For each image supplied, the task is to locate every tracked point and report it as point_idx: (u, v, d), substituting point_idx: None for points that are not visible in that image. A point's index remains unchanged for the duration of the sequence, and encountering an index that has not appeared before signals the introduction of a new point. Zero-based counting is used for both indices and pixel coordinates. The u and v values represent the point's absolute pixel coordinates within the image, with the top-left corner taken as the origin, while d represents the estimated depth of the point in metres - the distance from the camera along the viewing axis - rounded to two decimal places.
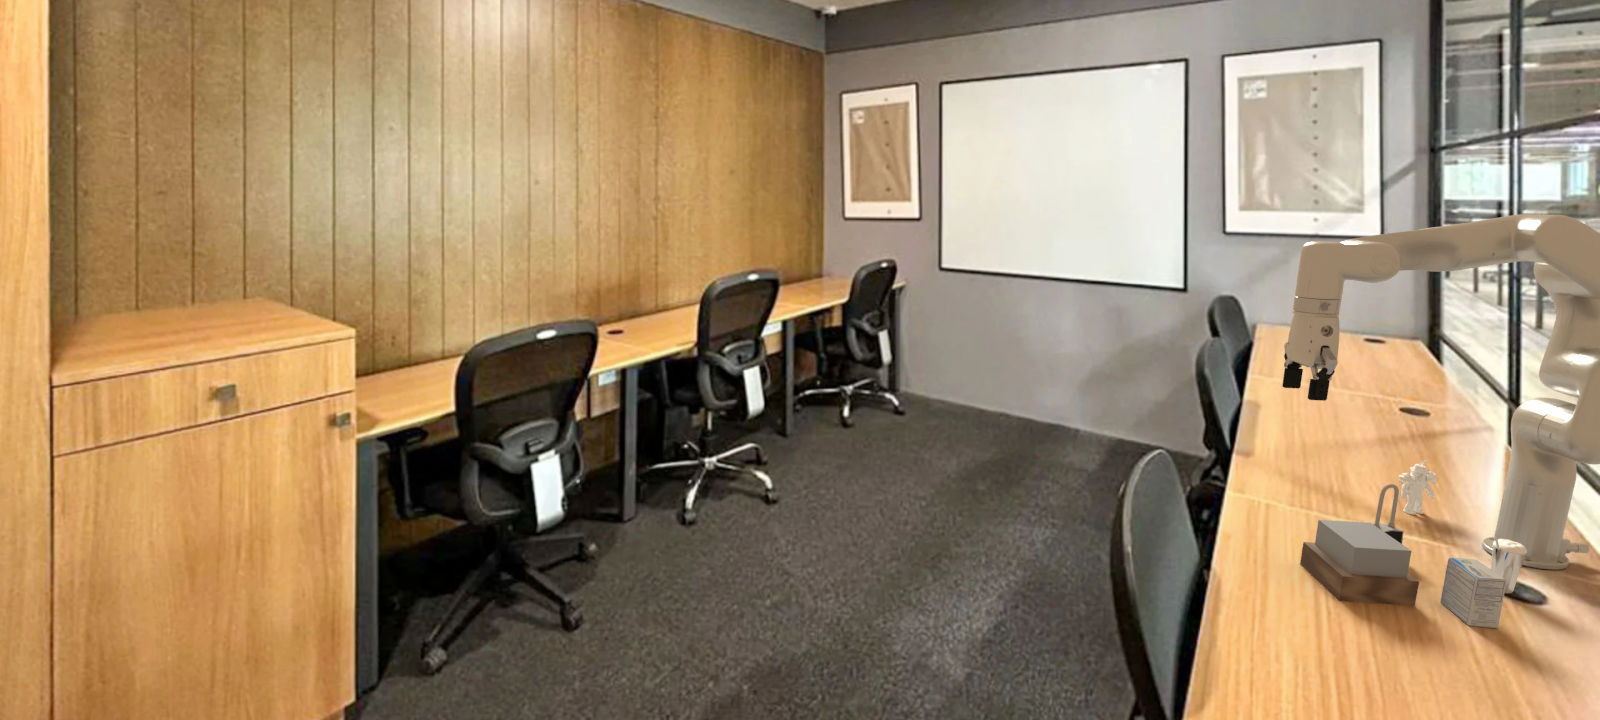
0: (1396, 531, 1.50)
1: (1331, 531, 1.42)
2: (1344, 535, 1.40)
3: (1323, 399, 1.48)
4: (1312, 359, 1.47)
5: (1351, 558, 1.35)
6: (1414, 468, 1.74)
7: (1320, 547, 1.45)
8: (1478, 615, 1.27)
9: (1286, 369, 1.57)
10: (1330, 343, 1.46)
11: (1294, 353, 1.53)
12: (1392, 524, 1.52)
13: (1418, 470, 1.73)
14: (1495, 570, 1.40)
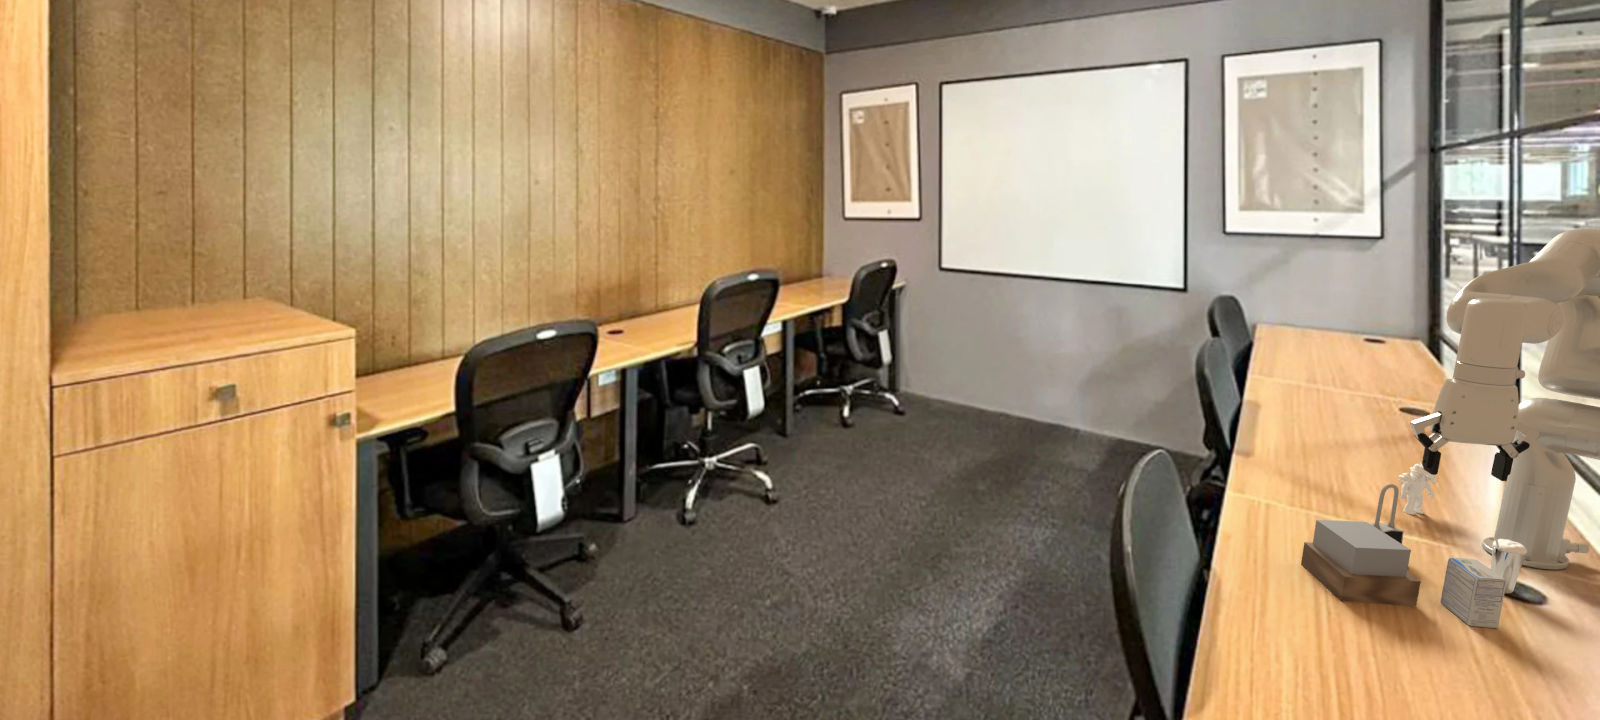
0: (1396, 531, 1.50)
1: (1330, 531, 1.42)
2: (1343, 535, 1.40)
3: None
4: (1514, 436, 1.26)
5: (1352, 558, 1.35)
6: (1414, 468, 1.74)
7: (1318, 547, 1.45)
8: (1478, 615, 1.27)
9: (1439, 453, 1.29)
10: None
11: (1473, 433, 1.27)
12: (1392, 524, 1.52)
13: (1418, 470, 1.73)
14: (1495, 570, 1.40)
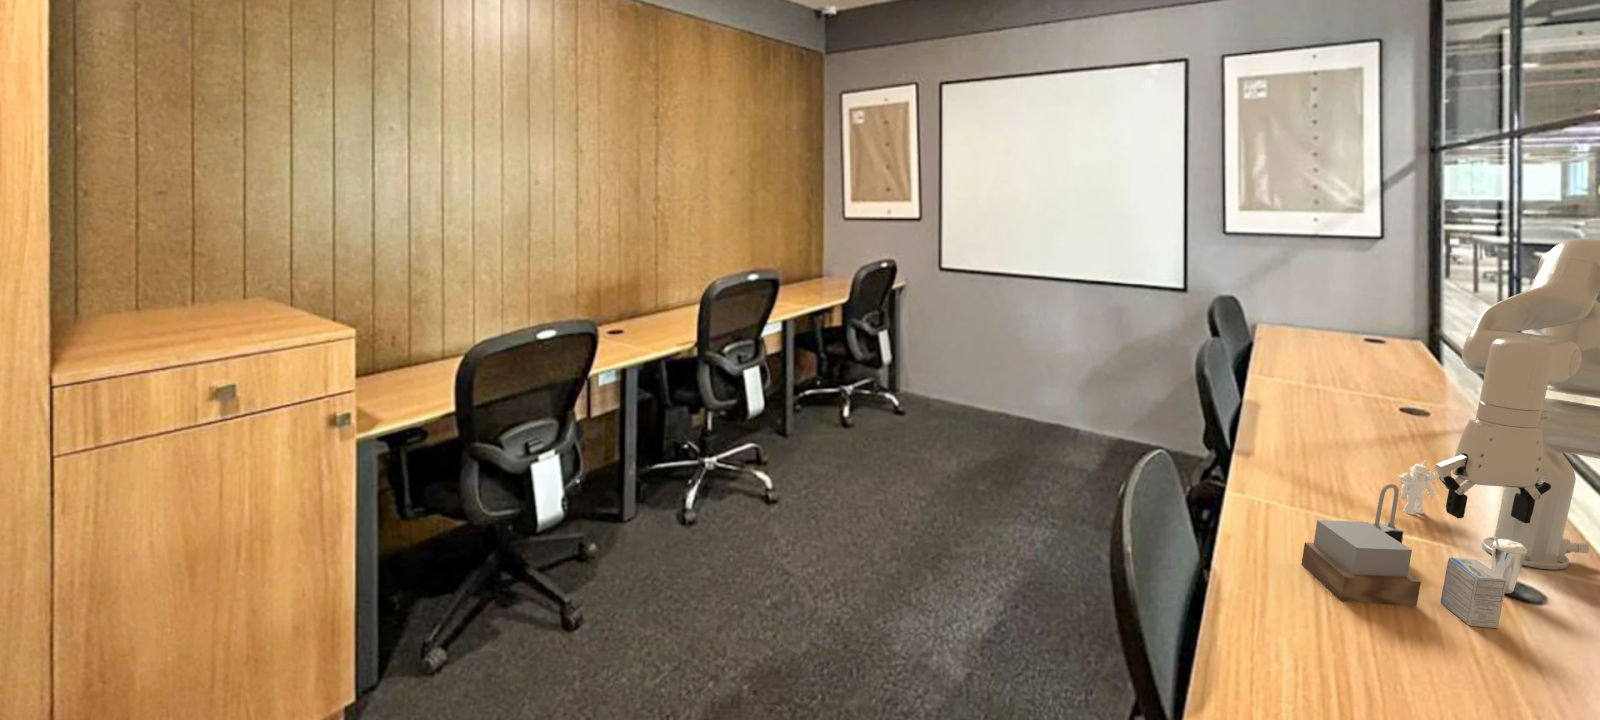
0: (1396, 531, 1.50)
1: (1331, 531, 1.42)
2: (1344, 535, 1.40)
3: None
4: (1538, 478, 1.24)
5: (1353, 558, 1.35)
6: (1414, 468, 1.74)
7: (1319, 547, 1.45)
8: (1478, 615, 1.27)
9: (1466, 496, 1.26)
10: None
11: (1499, 476, 1.24)
12: (1392, 524, 1.52)
13: (1418, 470, 1.73)
14: (1495, 570, 1.40)
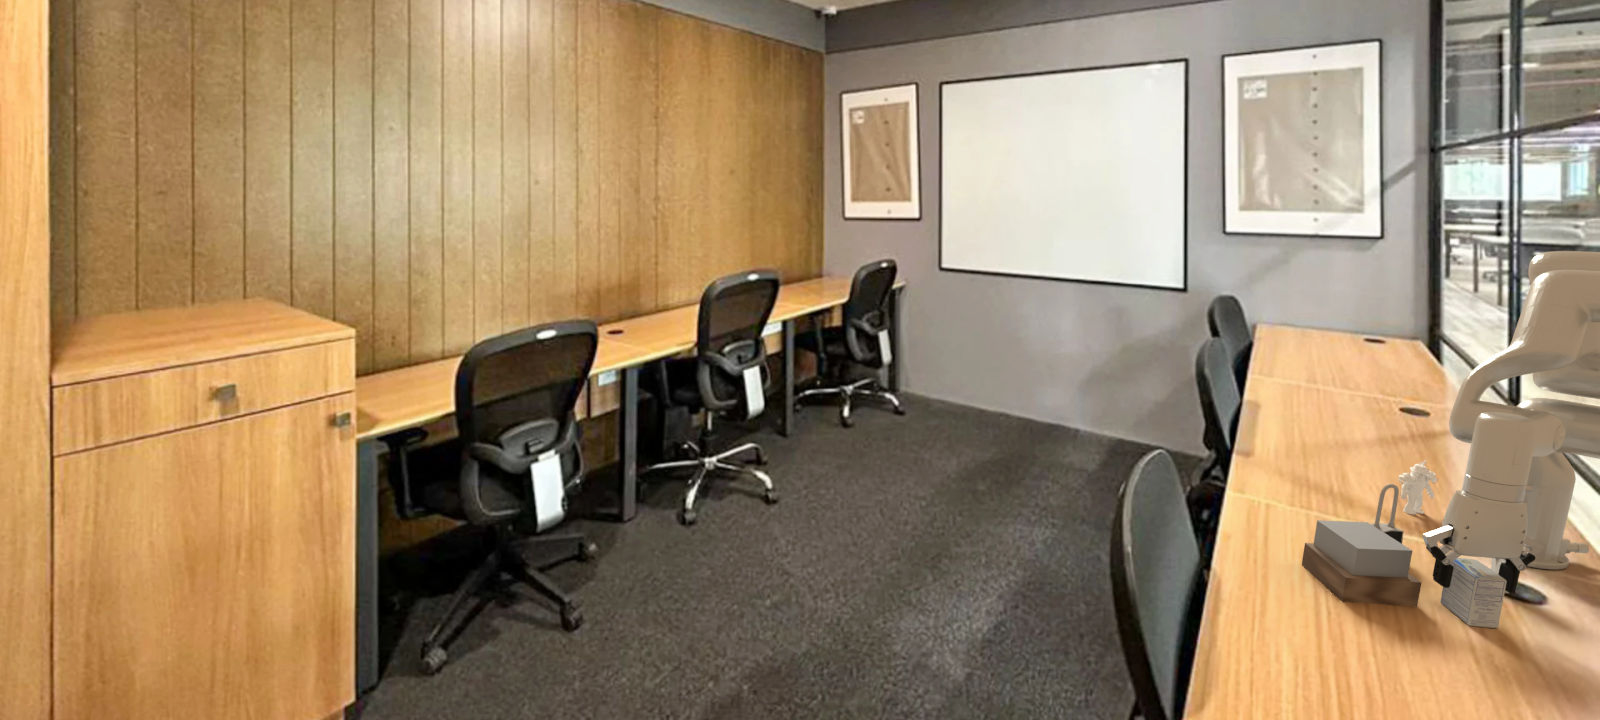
0: (1396, 531, 1.50)
1: (1331, 532, 1.42)
2: (1344, 536, 1.39)
3: None
4: (1522, 550, 1.26)
5: (1354, 559, 1.35)
6: (1414, 468, 1.74)
7: (1319, 548, 1.45)
8: (1478, 615, 1.27)
9: (1452, 567, 1.28)
10: None
11: (1485, 548, 1.26)
12: (1392, 524, 1.52)
13: (1418, 470, 1.73)
14: (1495, 570, 1.40)
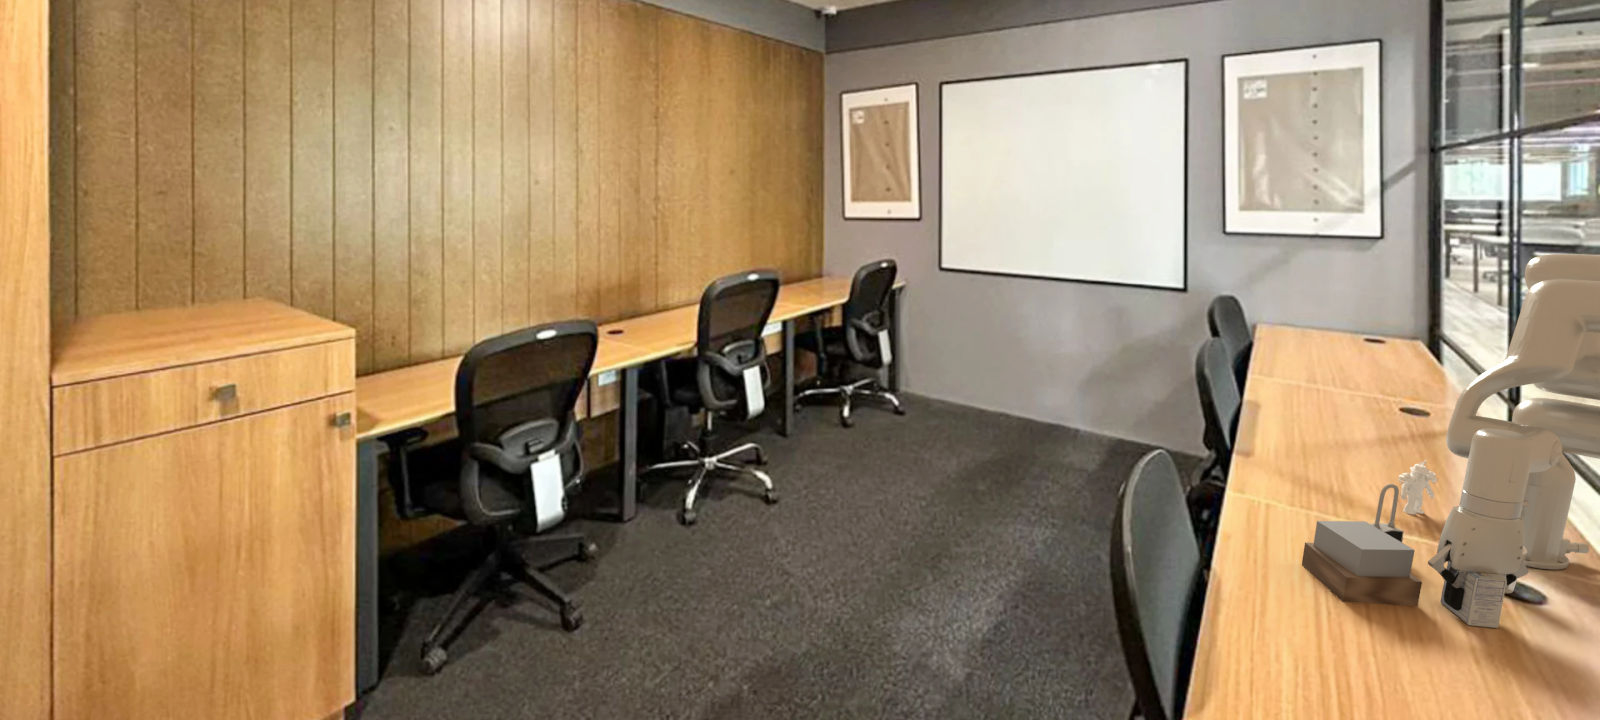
0: (1396, 531, 1.50)
1: (1333, 532, 1.41)
2: (1347, 536, 1.39)
3: None
4: (1519, 565, 1.27)
5: (1358, 560, 1.35)
6: (1414, 468, 1.74)
7: (1320, 548, 1.45)
8: (1478, 615, 1.27)
9: (1463, 589, 1.29)
10: None
11: (1482, 564, 1.27)
12: (1392, 524, 1.52)
13: (1418, 470, 1.73)
14: None
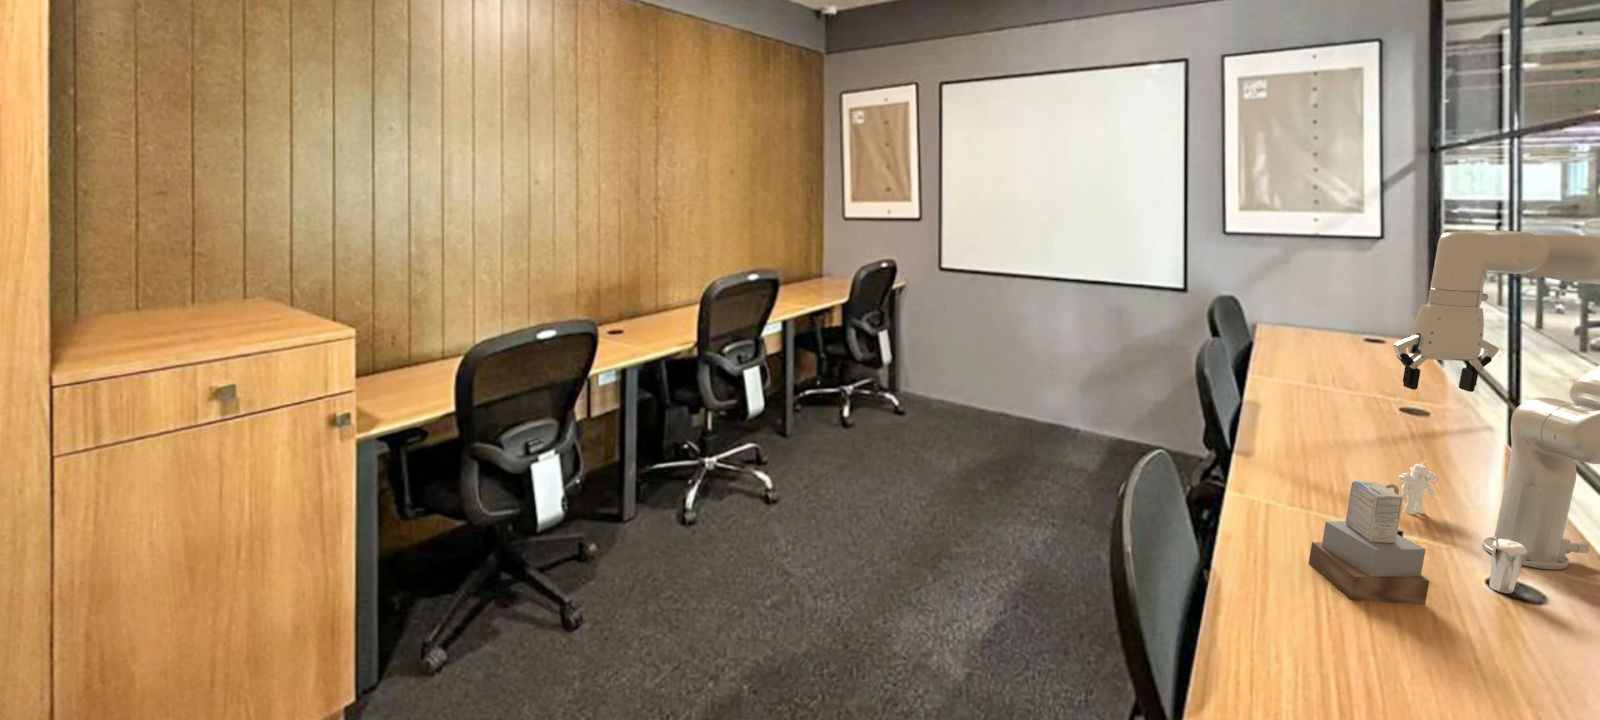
0: None
1: (1343, 533, 1.41)
2: (1358, 537, 1.39)
3: None
4: (1480, 351, 1.44)
5: (1372, 560, 1.35)
6: (1414, 468, 1.74)
7: (1329, 549, 1.45)
8: (1378, 531, 1.36)
9: (1419, 370, 1.47)
10: None
11: (1447, 350, 1.45)
12: None
13: (1418, 470, 1.73)
14: (1495, 570, 1.40)
